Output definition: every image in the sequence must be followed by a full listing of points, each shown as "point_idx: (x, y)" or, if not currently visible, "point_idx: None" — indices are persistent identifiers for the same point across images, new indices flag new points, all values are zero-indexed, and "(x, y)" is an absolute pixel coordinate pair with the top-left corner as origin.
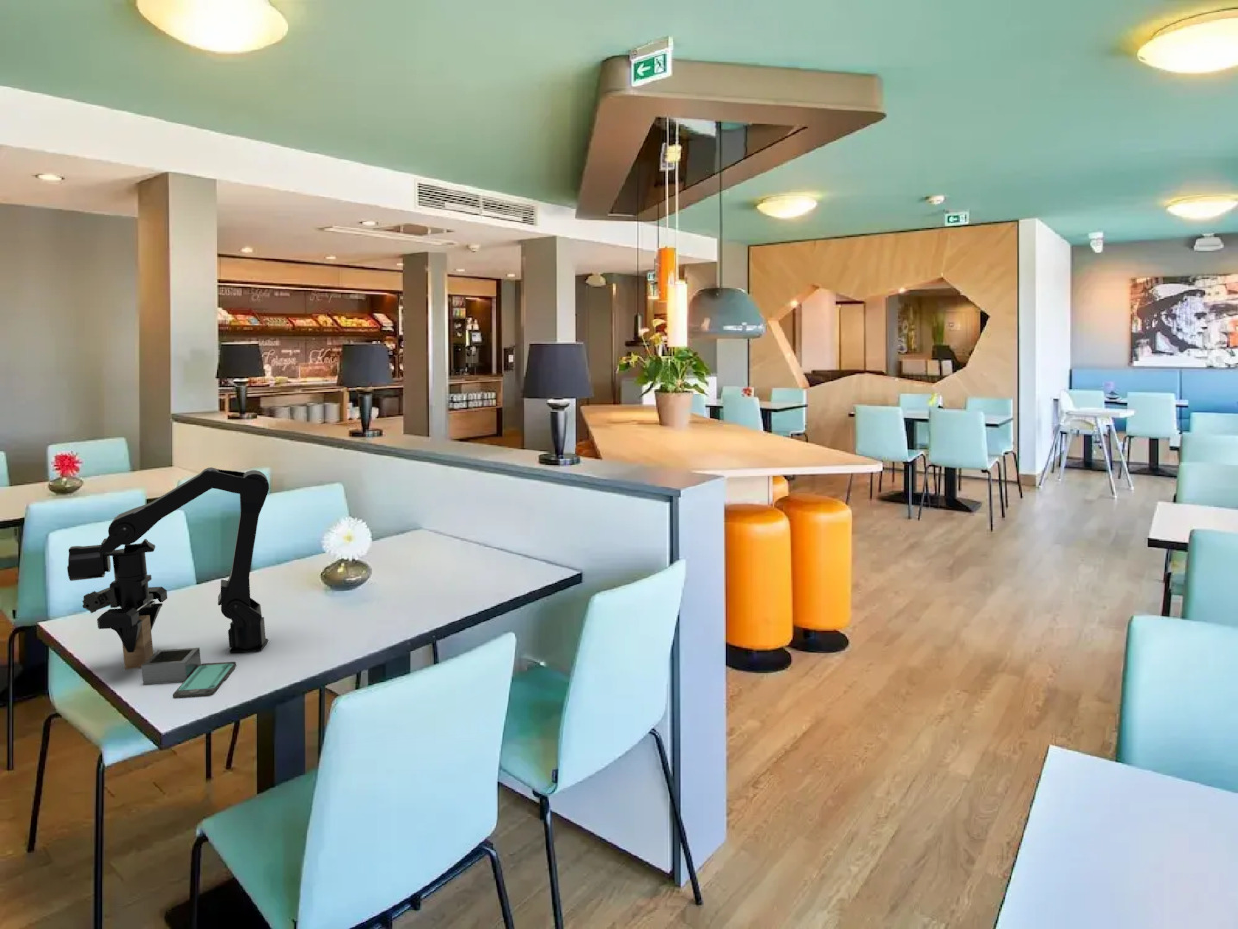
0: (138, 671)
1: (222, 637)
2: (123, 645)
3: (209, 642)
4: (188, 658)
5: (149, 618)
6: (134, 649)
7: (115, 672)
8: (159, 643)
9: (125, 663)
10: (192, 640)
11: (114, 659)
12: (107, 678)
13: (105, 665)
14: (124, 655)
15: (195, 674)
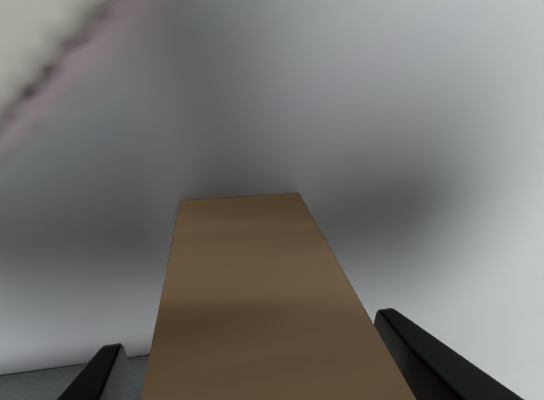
0: (141, 283)
1: None
2: (156, 329)
3: None
4: None
5: None
6: (122, 394)
7: (125, 169)
8: (537, 203)
9: (177, 224)
10: (499, 319)
11: (370, 48)
12: (17, 167)
13: (263, 32)
14: (169, 260)
15: None
